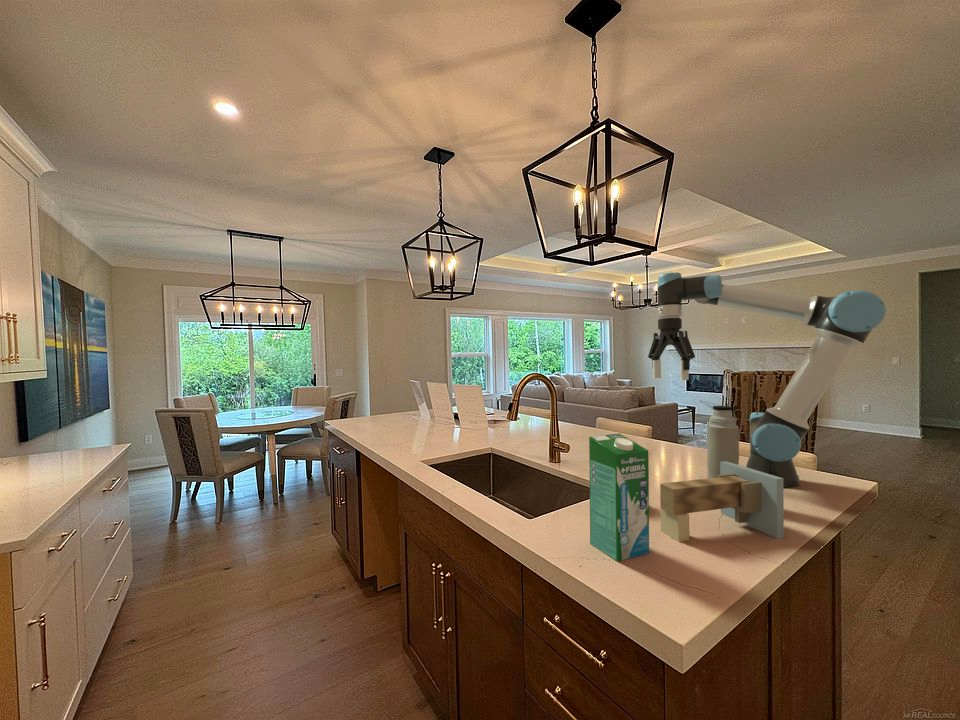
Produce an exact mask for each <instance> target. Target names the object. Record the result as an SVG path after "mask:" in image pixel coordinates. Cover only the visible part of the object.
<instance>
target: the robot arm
mask: <svg viewBox="0 0 960 720" xmlns="http://www.w3.org/2000/svg"><path fill="white" fill-rule="evenodd" d="M657 278H658V279H657V318H658V320H657V329H658V330H659V331H660V332H654V333H653V340H652V343H651V346H650V348H649V352H648V355H647V358H648V359H650V360H652V363H651V364H652V378H653V379H661V377H662V375H661V374H662V369H661V368H662V367H661V366H662V363H661V361H662V359H661V356H662V354H663V353H664V351H665V350H666V348H667V346H673V347H674V348H675V349H674V350H676V352H677V354H678V355H679V357H680V359H681V360H680V361H679V371H680V373H679V374H680V375H679V376H680V377H679V379H680V381H689V379H690V374H689V373H690V368H691V366H690V365H691V364H690V363H691V362H690V361H691V360H692V359H696V355H695V353H694V350H693V346H692V344H691V342H690V339H689V337H688V331H687V330H681V329H683V326H682V322H683V320H682V318H681V317H682V316H683V315H682V314H683V312H682V311H683V310H682V308H683V307H682V301H689V300H694V301H695V302H697V303H698V304H703V305H705V304H706V305H707V304H708V305H713V306H718V307H725V308H730V309H735V310H742V311H747V312H752V313H757V314H763V315H768V316H774V317H780V318H785V319H790V320H795V321H801V322H803V324H804V325H806V326H811V327H814V328H813V329H814V333H815V334H816V336H815V339H814V341H813V342H812V344H811V345H810V348H809V349H808V351H807V352H806V354H805V355H804V358H803V359H802V360H801V362H800V364H799V365H798V367H797V369H796V370H795V372H794V374H793V376H792V377H791V379H790V380H789V383H788V384H787V386H786V387H785V389H784V390H783V393H782V394H781V396H780V397H779V398H778V401H777V402H776V404H775V405H774V406H773V407H769V408H766V410H765V411H764V412H756V411H755V412H751V413H750V415H749V419H748V421H749V452H750V453H749V458H748V460H747V463H746V466H745V467H747V468H750V469H754V470H757V471H760V472H764V473H767V474H770V475H774V476H777V477H780V478H783V488H792V487H794V488H795V487H797V486H799V485H800V477H799V475H798V473H797V470H796V467H795V464H794V462H793V461H794V460H793V459H794V458H795V457H797V455H798V454H799V452H800V451H801V448H802V441H803V440H804V438H805V436H806V435H807V434H808V432H809V430H810V426H809V424H808V419H809V418H810V416H811V415H812V413H813V412H814V410H815V408H816V407H817V405H818V404H819V402H820V401H821V398H822V397H823V396H824V394H825V393H826V391H827V389H828V388H829V386H830V385H831V383H832V382H833V379H835V377H836V374H838V372H839V370H840V369H841V367H842V366H843V364H844V362H845V360H847V357H848V356H849V354H850V353H851V351H852V349H854V348H856V347H859V346H862V345H863V344H864V343H865V341H866V340H867V338H868V337H869V336H870V334H871V332H872V331H873V330H874V329H875V328H877V327H878V326H879V325H880V324H881V323H882V322H883V320H884V319H885V316H886V312H887V308H886V304H885V303H884V301H883V299H882V298H881V297H880V296H879V295H878V294H876V293H874V292H871V291H869V290H862V289H860V290H858V289H857V290H848V291H845V292H844V291H843V292H842V293H840V294H838V295H837V296H822V295H814V296H812V297H806V296H800V295H799V296H798V295H792V294H788V293H787V294H786V293H781V292H774V291H767V290H761V289H755V288H749V287H744V286H736V285H735V286H734V285H728V284H724V283H722V282H723V281H722V276H721V275H720V274H712V275H711V274H708V275H703V276H702V275H701V276H693V277H682V273H681V272H666V273H662V274H660V275H659V276H658V277H657Z"/></svg>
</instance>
